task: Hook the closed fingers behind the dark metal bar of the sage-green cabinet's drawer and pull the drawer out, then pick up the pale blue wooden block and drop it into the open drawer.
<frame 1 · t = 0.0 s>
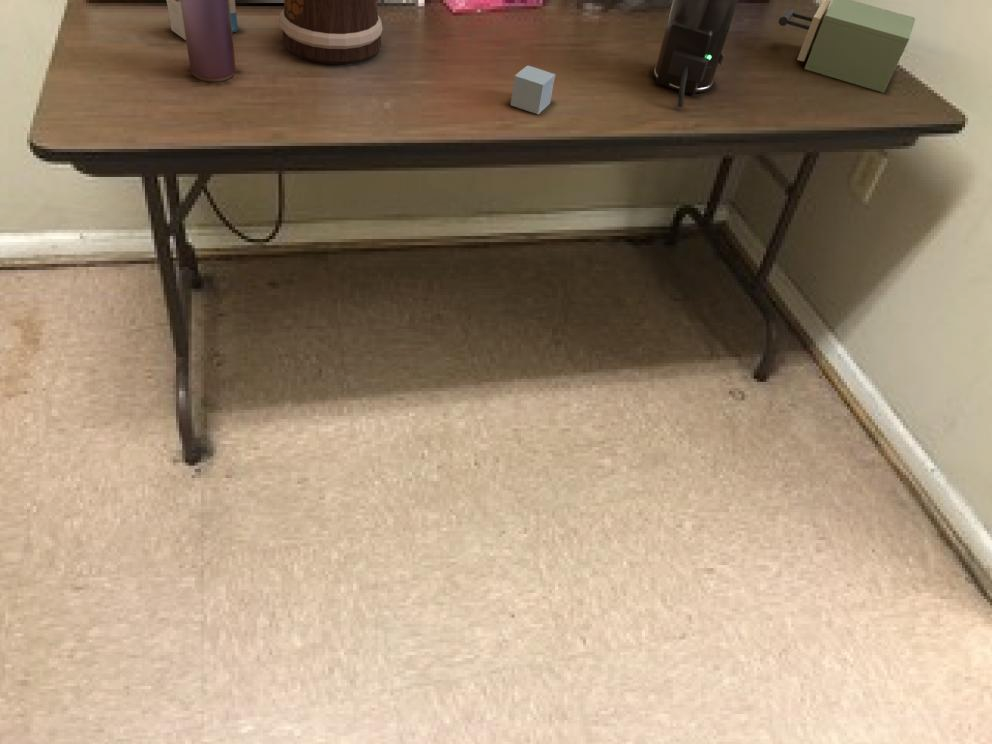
ink box: (204, 32, 122), on the table
drawer: (830, 35, 140), point 5 cm above the table, slide at 0.5 cm
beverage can: (213, 74, 113), on the table
block: (530, 104, 118), on the table
cabinet: (848, 69, 142), on the table
mug: (327, 40, 125), on the table
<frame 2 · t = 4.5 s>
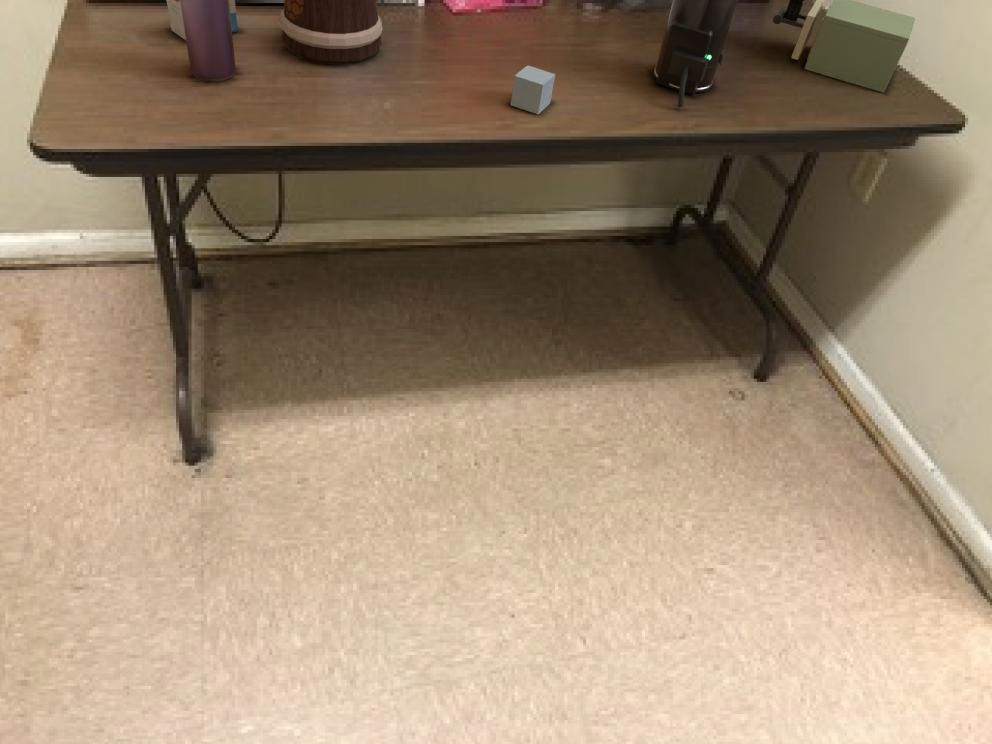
hand: (789, 22, 142), 5 cm above the table, tool pointing down, fingers closed
drawer: (824, 33, 140), point 5 cm above the table, slide at 1.5 cm, touching gripper
everything else where it was.
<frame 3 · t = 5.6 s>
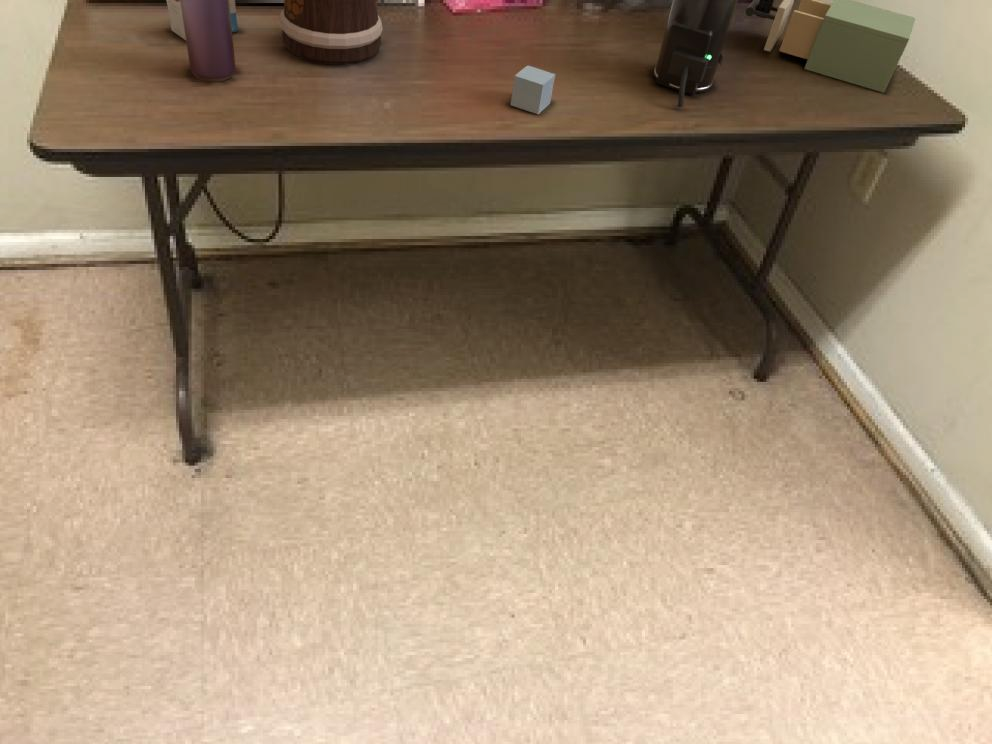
hand: (761, 15, 143), 4 cm above the table, tool pointing down, fingers closed
drawer: (797, 25, 141), point 5 cm above the table, slide at 6.4 cm, touching gripper
everything else where it was.
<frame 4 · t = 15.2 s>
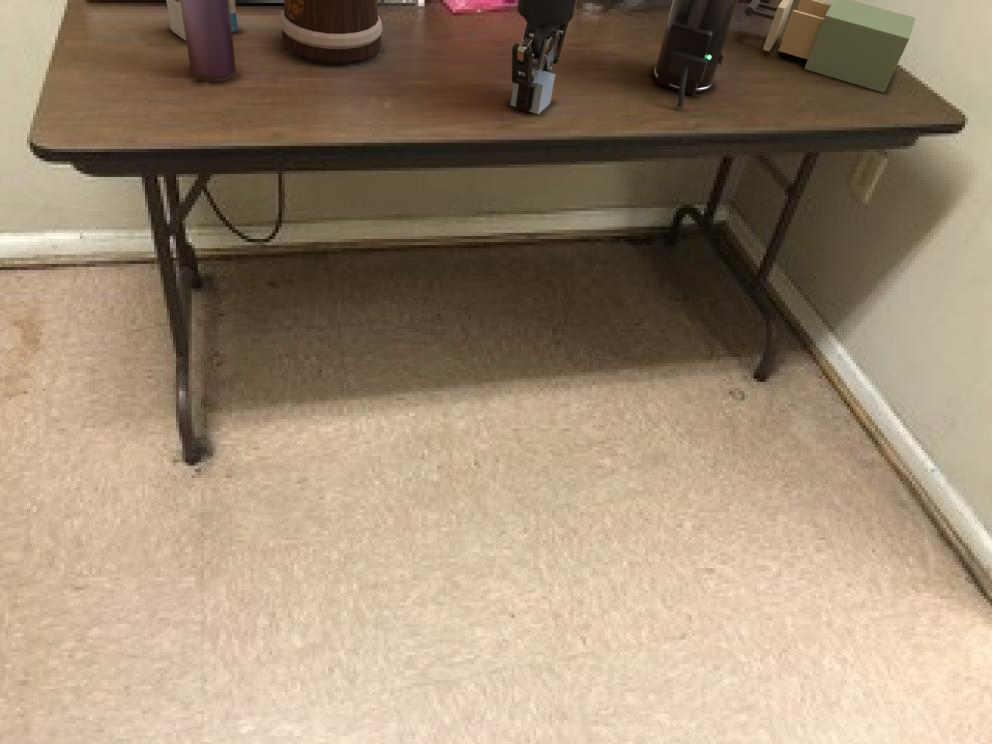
hand: (530, 102, 117), 0 cm above the table, tool pointing down, fingers closed on block, 4 cm apart
drawer: (796, 25, 142), point 5 cm above the table, slide at 6.5 cm
block: (530, 104, 118), on the table, touching gripper
everything else where it was.
when the fingers open (8 cm above the table, at t = 25.6 s): block drops 6 cm, resting on drawer.
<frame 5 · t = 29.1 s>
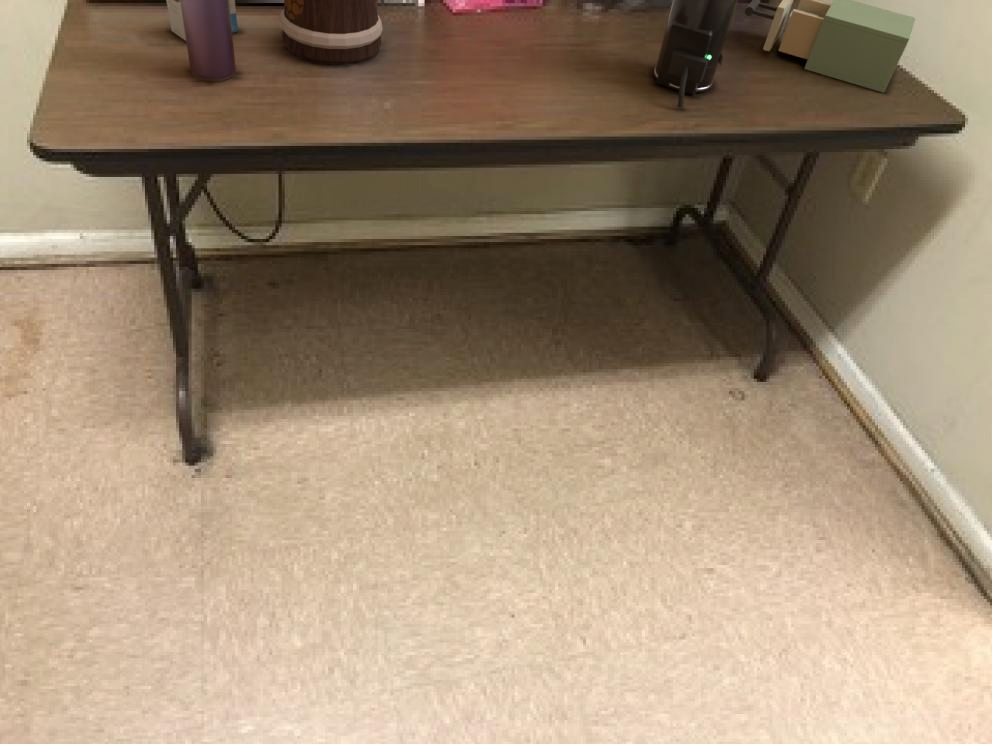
drawer: (796, 25, 142), point 5 cm above the table, slide at 6.5 cm, touching block
block: (794, 41, 143), point 2 cm above the table, touching drawer
everything else where it was.
at the end: drawer slide at 6.5 cm; block inside the target area in the drawer (2.3 cm from its centre), point 2.0 cm above the cabinet's base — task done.
